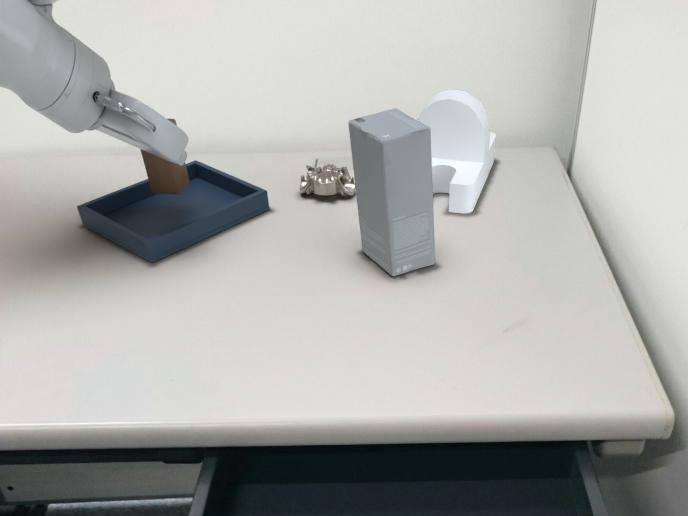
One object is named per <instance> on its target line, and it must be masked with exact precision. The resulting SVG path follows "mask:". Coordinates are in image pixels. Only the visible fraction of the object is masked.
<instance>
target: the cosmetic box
mask: <svg viewBox="0 0 688 516" xmlns="http://www.w3.org/2000/svg"><path fill="white" fill-rule="evenodd" d="M348 132H349V142H350V151H351V158H352V159H351V160H352V168H353V177H354V178H355V187H356V189H355V195H356V196H355V197H356V204H357V213H358V223H359V230H360V231H359V233H360V241H361V252H362V253H364V254H365V255H366V256H368V257H369V259H371V260H372V261H373V262H375V263H376V264H377V265H378V266H379V267H381V269H383V270H384V271H385V272H386V273H388V274H389V275H390V276H392V277H396V276H399V275H400V276H401V275H403V274H405V273H409V272H411V271H415V270H418V269H422V268H425V267H429V266H433V265H435V264H436V242H435V239H436V238H435V213H434V212H435V211H434V194H433V184H432V157H431V128H430V127H428V126H426V125H424V124H423V123H421V122H419V121H417V119H415V118H413V117H412V116H410V115H408V114H407V113H405V112H402V110H400V109H398V108H397V107H395V108H391V109H386V110H383V111H379V112H376V113H373V114H368V115H365V116H361V117H357V118H353V119H349V120H348Z"/></svg>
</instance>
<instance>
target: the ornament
mask: <svg viewBox="0 0 688 516" xmlns="http://www.w3.org/2000/svg"><path fill="white" fill-rule="evenodd" d="M305 168H306V170H307V172H306V176H305V175H304V174H301V176H300V185H299V190H298V191H299V194H304V193H306V194H307V195H311V194H312V193H313V194H315V195H318V196H333V195H336V194H339V195H340V196H341V197H347V196H349V197H351V196H353V195H354V194H356V187H355V178H354V176H352V177H351V175H350V173H349V170H348V167H347V166H342V167H337V166H336V165H335V164H332V163H328V164H324V165H323V167H322V166H316V167H315V166H311V165H308V164H307V165H306V166H305Z"/></svg>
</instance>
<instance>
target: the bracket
mask: <svg viewBox="0 0 688 516" xmlns="http://www.w3.org/2000/svg"><path fill="white" fill-rule="evenodd" d="M416 120H417V121H419V122H421V123H423V124H424V125H426V126H428V127H430V128H431V157H432V184H433V195H434V194H440V193H441V194H448V195H449V197H448V213H454V214H455V213H456V214H464V215H465V214H471V213H473V211H474V209H475V207H476V205H477V203H478V200H479V198H480V195H481V193H482V191H483V188H484V186H485V184H486V182H487V179H488V177H489V174H490V172H491V170H492V167H493V165H494V162H495V154H496V153H495V151H496V140H497V134H496V133H495V132H493V131H490V130H491V127H490V125H491V123H490V120H489V116H488V113H487V111H486V109H485V108H484V106H483V104H482V103H481V101H480V100H478V98H476V97H475V96H474V95H472V94H470V93H469V92H467V91H465V90H460V89H446V90H443V91H441V92H438V93H437V94H435V95H434V96H433V97H431V99H429V100H428V102H427V103H426V105H425V106H424V108H423V109H422V111H421V112H420V113H419V115H418V117H417V118H416Z"/></svg>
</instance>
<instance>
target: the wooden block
mask: <svg viewBox="0 0 688 516" xmlns="http://www.w3.org/2000/svg"><path fill="white" fill-rule="evenodd" d="M165 118H166V119H168V120H169V121H171V122H172V123H173V124H175V125H176V126H178V125H177V121H176V119H174V118H167V117H165ZM139 149H140V148H139ZM140 154H141V157H142V160H143V164H144V165H143V166H144V169H145V172H146V176H147V179H148V180H149V183H150V187H151V191H152V192H153V193H160V194H174V195H179V194H180V193H181V192H182V191H183V190H184V189H185V188H186V187H187V185H188V184H189V176H188V172H187V168H186V164H187V163H186V162H185V163H184V165H182V166H180V165H178V164H175V163H172V162H170V161H167V160H165V159H163V158H160V157H158V156H156V155H153V154H151V153H149V152H147V151H144V150H142V149H140Z"/></svg>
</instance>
